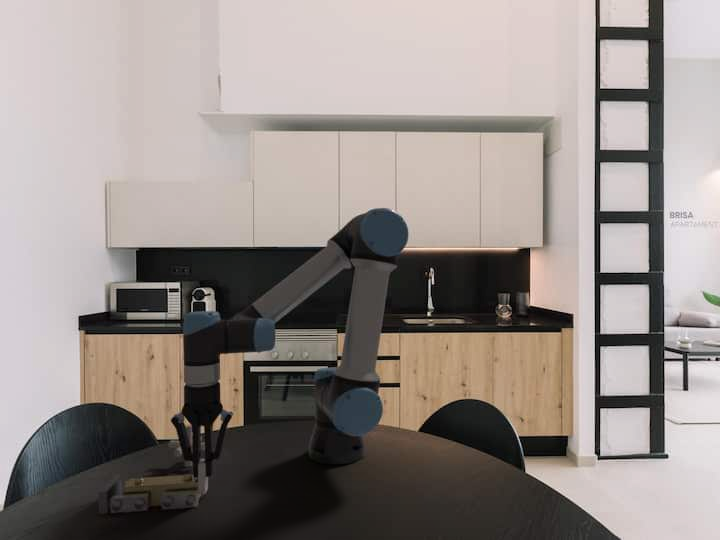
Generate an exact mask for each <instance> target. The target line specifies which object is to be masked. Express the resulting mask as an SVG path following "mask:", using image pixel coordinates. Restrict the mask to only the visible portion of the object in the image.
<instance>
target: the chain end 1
mask: <svg viewBox="0 0 720 540" xmlns="http://www.w3.org/2000/svg"><path fill="white" fill-rule="evenodd" d="M128 481H129V480H127V481H126V480H125V481H124V482H123V474H114V475H113V476H112V477H111V478H110V480H108V482H107V483H105V484H104V486H103V487H102V488H101V489H100V490H99V491H98V514H99V515H103V514H105V513H106V514H108V511H109V512H110V514H119V512H121V513H131V512H132V511H133V512H145V511H148V510H149V508H150V506H149V493H145V494H130V495H123V487H124V486H125V484H126V483H127V482H128ZM133 512H132V513H133ZM106 514H105V515H106Z"/></svg>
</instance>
